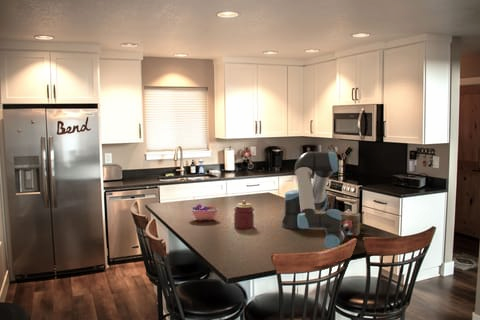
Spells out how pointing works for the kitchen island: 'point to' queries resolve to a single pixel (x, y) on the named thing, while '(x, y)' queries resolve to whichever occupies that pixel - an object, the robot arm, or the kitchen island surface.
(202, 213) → the cell model
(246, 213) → the canister
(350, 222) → the red plug
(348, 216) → the walnut plug block
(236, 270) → the kitchen island surface
